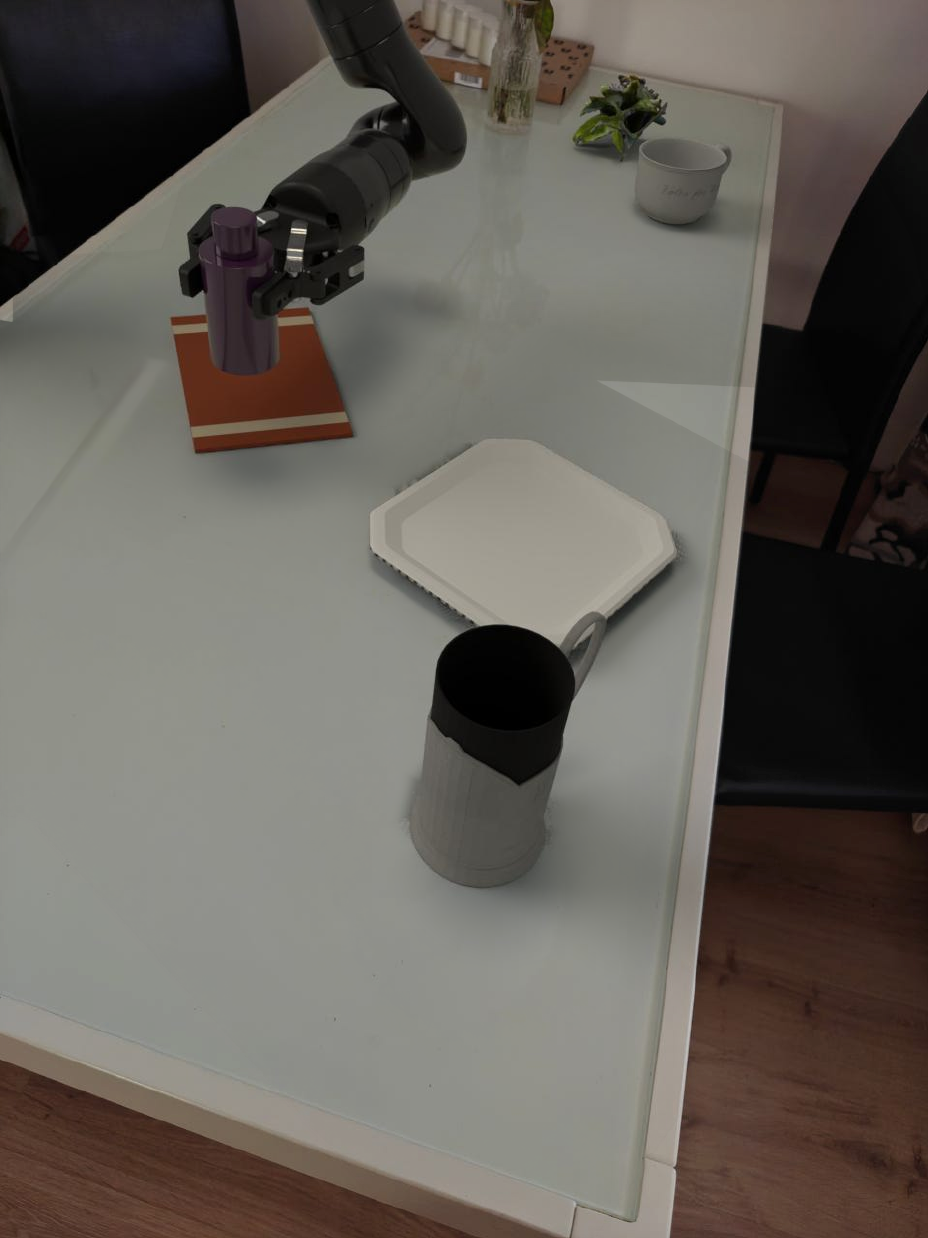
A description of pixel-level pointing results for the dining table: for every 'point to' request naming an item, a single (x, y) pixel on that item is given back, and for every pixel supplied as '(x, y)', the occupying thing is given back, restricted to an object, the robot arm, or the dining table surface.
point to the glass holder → (495, 749)
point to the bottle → (237, 294)
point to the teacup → (679, 177)
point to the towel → (260, 390)
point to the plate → (521, 539)
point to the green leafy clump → (621, 113)
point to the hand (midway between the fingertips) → (221, 296)
